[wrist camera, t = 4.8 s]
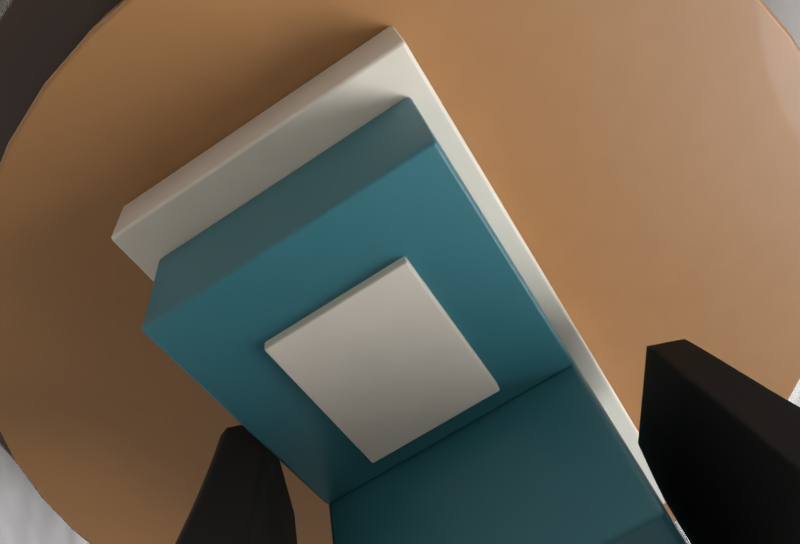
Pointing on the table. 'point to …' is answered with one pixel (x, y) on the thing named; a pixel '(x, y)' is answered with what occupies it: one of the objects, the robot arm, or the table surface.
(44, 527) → the table surface
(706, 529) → the robot arm
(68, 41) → the display base
